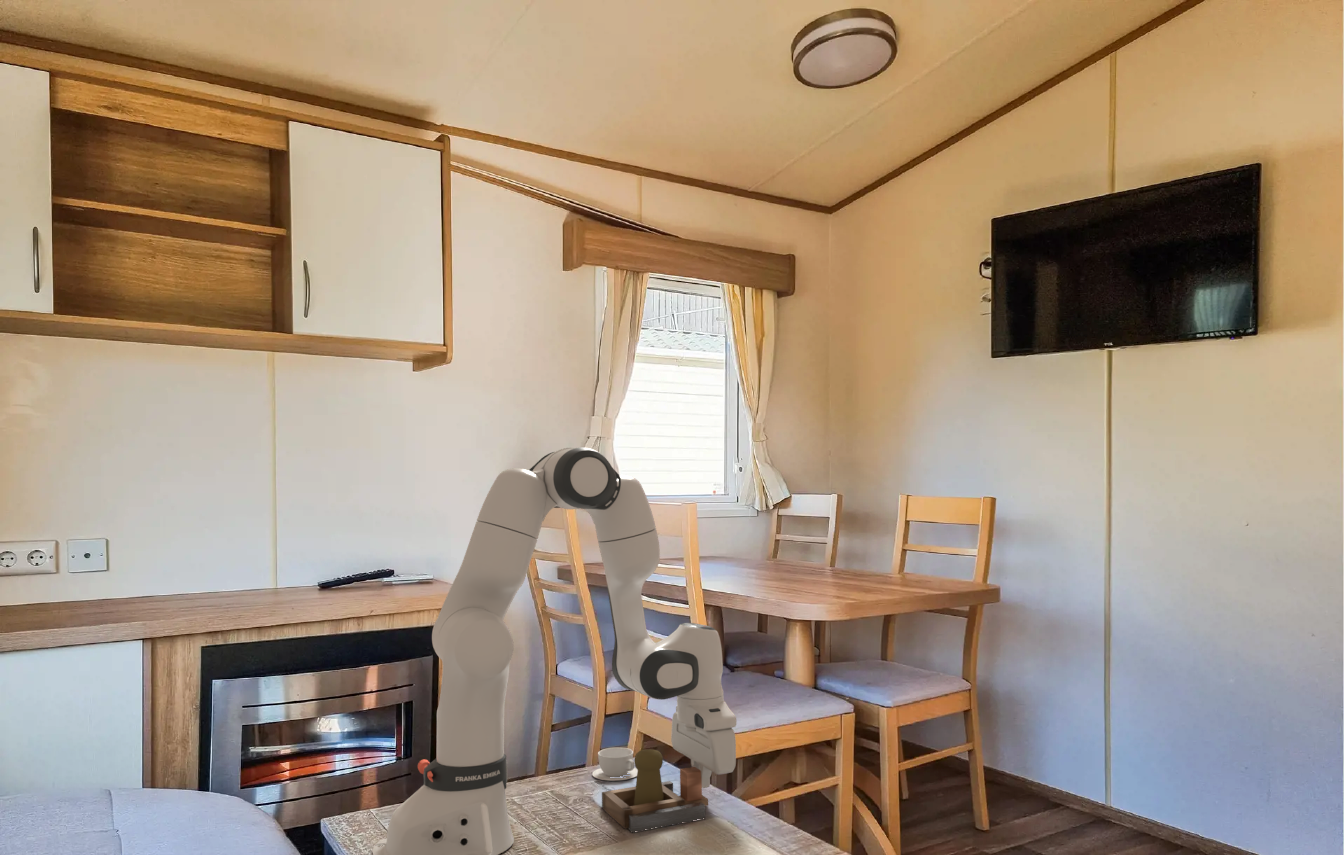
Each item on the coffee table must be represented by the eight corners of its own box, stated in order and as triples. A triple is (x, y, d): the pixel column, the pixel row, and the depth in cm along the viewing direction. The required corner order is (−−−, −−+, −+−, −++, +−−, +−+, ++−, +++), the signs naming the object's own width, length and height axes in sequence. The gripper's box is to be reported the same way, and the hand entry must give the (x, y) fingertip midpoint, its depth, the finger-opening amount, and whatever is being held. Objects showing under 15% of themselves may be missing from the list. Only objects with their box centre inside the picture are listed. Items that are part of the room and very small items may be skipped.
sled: (624, 828, 149) (624, 791, 149) (602, 808, 159) (602, 774, 159) (717, 811, 156) (716, 776, 157) (690, 793, 166) (689, 760, 167)
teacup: (582, 776, 179) (581, 753, 180) (615, 765, 187) (615, 743, 187) (616, 786, 173) (616, 762, 173) (649, 774, 180) (649, 751, 181)
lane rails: (632, 833, 147) (632, 817, 147) (601, 806, 161) (601, 792, 161) (705, 819, 153) (704, 804, 153) (669, 794, 167) (669, 781, 167)
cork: (667, 807, 159) (666, 746, 160) (664, 819, 153) (663, 755, 154) (635, 806, 160) (634, 746, 161) (630, 818, 154) (629, 755, 155)
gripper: (662, 701, 171) (664, 773, 170) (710, 724, 152) (712, 804, 151) (691, 697, 173) (692, 768, 172) (741, 719, 155) (743, 799, 154)
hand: (702, 785), depth 161 cm, fingers closed, pressing on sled
